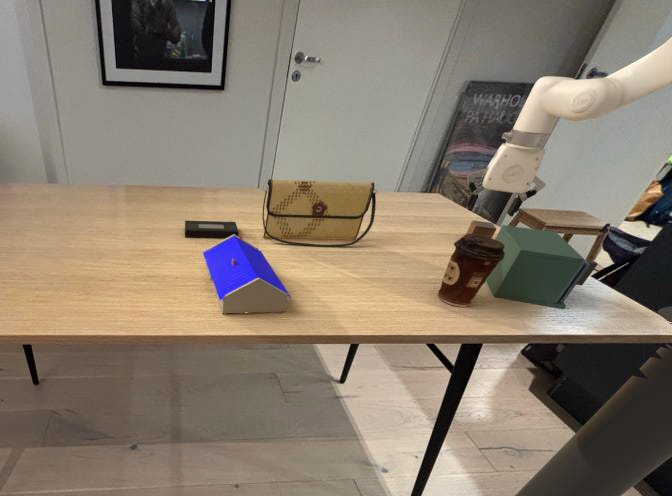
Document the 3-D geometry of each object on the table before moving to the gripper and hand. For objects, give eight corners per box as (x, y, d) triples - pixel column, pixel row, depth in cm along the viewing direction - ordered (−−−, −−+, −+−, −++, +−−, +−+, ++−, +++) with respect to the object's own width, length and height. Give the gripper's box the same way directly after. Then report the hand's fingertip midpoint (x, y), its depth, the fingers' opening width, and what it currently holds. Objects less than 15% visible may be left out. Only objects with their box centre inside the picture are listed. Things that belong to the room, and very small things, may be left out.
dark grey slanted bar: (573, 290, 85) (599, 253, 80) (587, 306, 79) (616, 268, 74) (547, 285, 86) (572, 249, 81) (559, 302, 81) (586, 264, 75)
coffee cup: (431, 303, 81) (460, 243, 72) (428, 286, 87) (455, 229, 79) (478, 313, 78) (514, 251, 70) (472, 295, 84) (505, 236, 76)
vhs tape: (184, 227, 111) (185, 220, 109) (234, 228, 111) (235, 221, 110) (185, 237, 105) (185, 230, 103) (237, 238, 105) (238, 231, 104)
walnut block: (483, 240, 110) (492, 222, 107) (487, 246, 107) (496, 228, 103) (464, 237, 112) (472, 220, 108) (466, 243, 108) (475, 225, 105)
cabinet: (541, 277, 92) (569, 234, 86) (564, 309, 81) (599, 261, 74) (479, 267, 95) (502, 224, 89) (493, 296, 84) (521, 249, 77)
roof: (202, 265, 91) (203, 234, 87) (259, 263, 93) (263, 233, 89) (218, 314, 74) (221, 279, 70) (288, 311, 76) (295, 277, 72)
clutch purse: (259, 245, 102) (268, 184, 93) (255, 235, 108) (263, 177, 98) (370, 248, 103) (390, 188, 94) (360, 238, 109) (378, 180, 99)
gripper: (489, 138, 93) (455, 211, 104) (574, 146, 88) (530, 221, 99) (482, 133, 98) (451, 203, 109) (563, 141, 94) (522, 213, 105)
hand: (489, 212), depth 104 cm, fingers open, 9 cm apart
